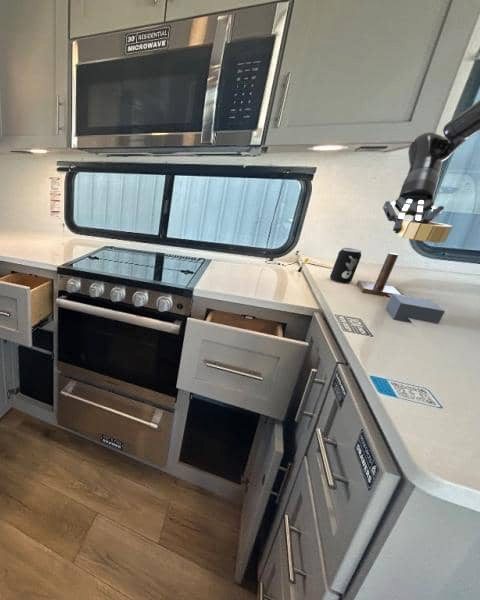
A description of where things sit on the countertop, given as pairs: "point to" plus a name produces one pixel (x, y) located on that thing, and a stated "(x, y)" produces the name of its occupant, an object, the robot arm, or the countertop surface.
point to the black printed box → (345, 265)
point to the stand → (381, 279)
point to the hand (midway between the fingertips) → (404, 232)
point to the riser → (414, 309)
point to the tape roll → (424, 231)
